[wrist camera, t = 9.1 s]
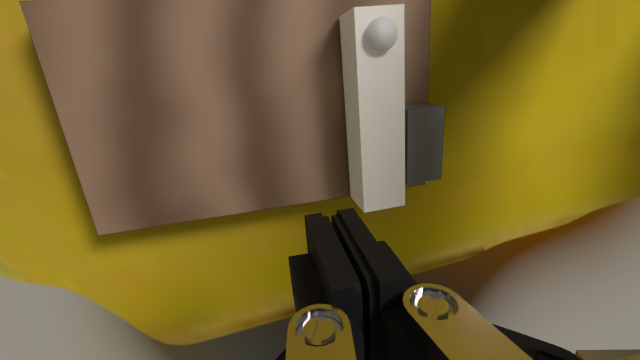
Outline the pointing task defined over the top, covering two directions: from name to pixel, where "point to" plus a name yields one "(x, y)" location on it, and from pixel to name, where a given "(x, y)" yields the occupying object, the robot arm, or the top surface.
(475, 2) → the top surface
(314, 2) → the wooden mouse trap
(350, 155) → the folding leg
